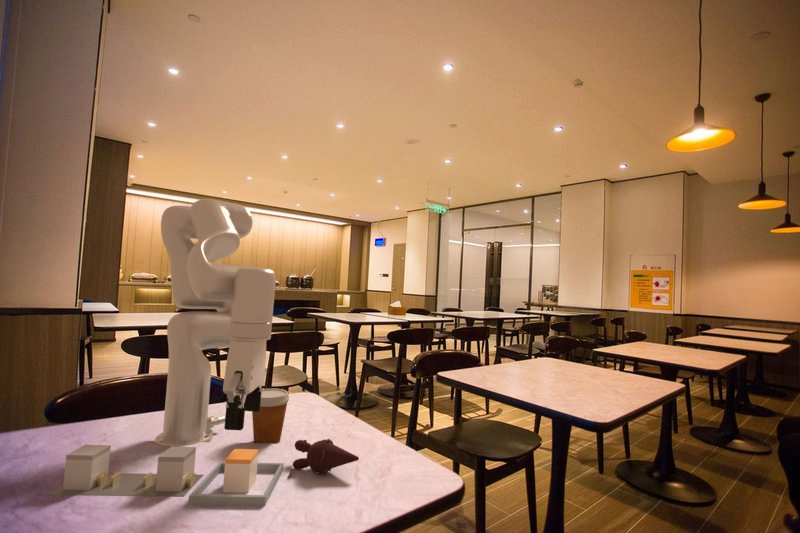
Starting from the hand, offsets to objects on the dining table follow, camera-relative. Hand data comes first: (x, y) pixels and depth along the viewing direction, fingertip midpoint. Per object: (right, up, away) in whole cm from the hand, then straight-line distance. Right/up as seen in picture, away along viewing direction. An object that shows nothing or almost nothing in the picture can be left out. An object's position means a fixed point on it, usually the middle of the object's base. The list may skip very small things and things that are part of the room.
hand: (243, 419), depth 74 cm
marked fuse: (0, -12, -1) cm, 12 cm away
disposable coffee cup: (-3, -15, +22) cm, 27 cm away
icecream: (+14, -15, +8) cm, 22 cm away
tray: (0, -13, -1) cm, 13 cm away
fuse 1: (-28, -11, -3) cm, 30 cm away
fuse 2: (-12, -11, -2) cm, 17 cm away
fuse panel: (-20, -12, -3) cm, 23 cm away
